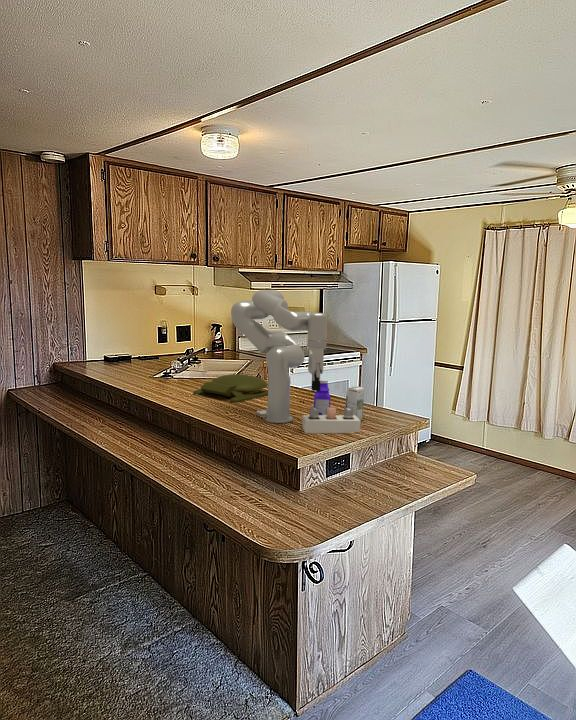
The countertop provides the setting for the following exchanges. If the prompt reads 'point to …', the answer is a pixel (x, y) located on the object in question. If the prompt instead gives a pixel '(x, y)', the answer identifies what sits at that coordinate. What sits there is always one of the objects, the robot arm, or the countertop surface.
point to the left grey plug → (314, 413)
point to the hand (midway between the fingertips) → (315, 390)
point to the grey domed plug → (348, 413)
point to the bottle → (322, 397)
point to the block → (330, 424)
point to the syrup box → (355, 400)
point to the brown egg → (331, 413)
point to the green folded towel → (235, 387)
